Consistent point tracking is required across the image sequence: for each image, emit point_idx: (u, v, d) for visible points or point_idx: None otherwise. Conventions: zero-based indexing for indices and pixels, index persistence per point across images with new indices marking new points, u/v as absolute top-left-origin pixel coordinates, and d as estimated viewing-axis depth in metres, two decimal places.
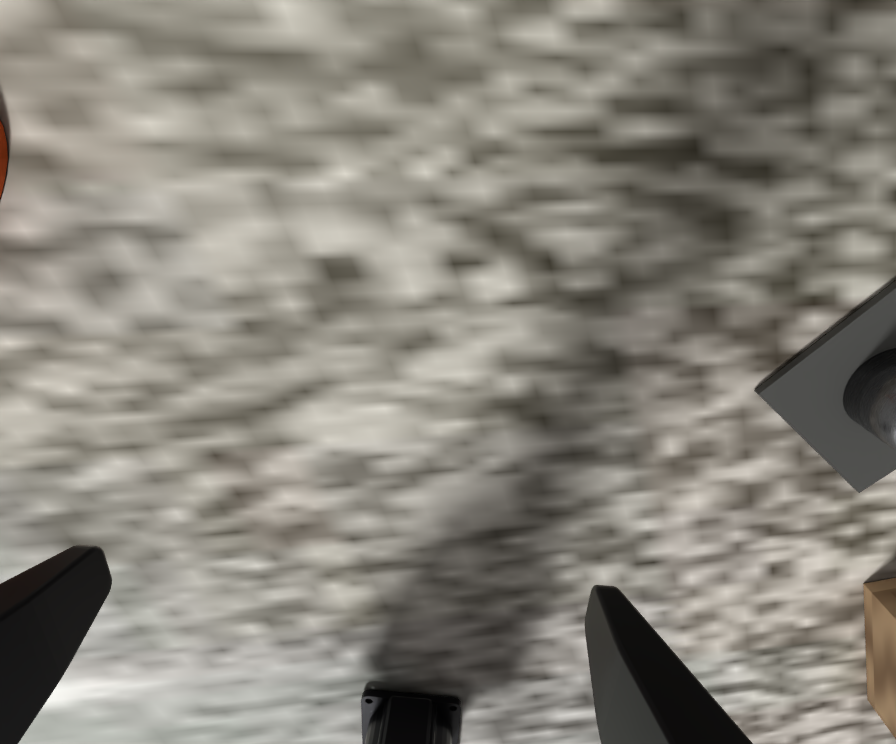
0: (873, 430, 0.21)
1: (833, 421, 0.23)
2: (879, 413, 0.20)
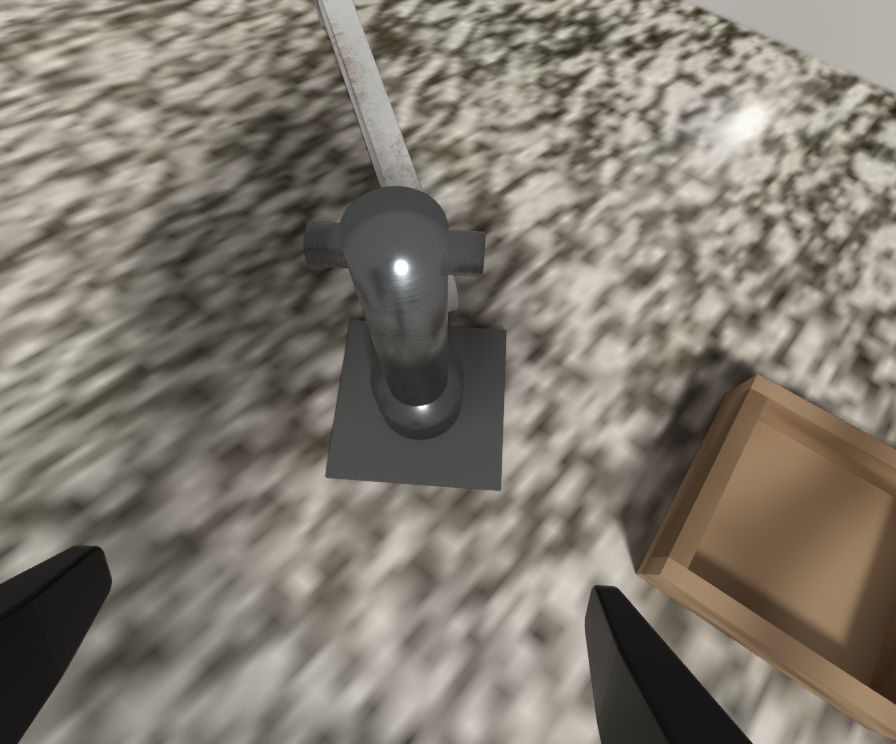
0: (404, 428, 0.22)
1: (408, 452, 0.23)
2: (382, 412, 0.21)
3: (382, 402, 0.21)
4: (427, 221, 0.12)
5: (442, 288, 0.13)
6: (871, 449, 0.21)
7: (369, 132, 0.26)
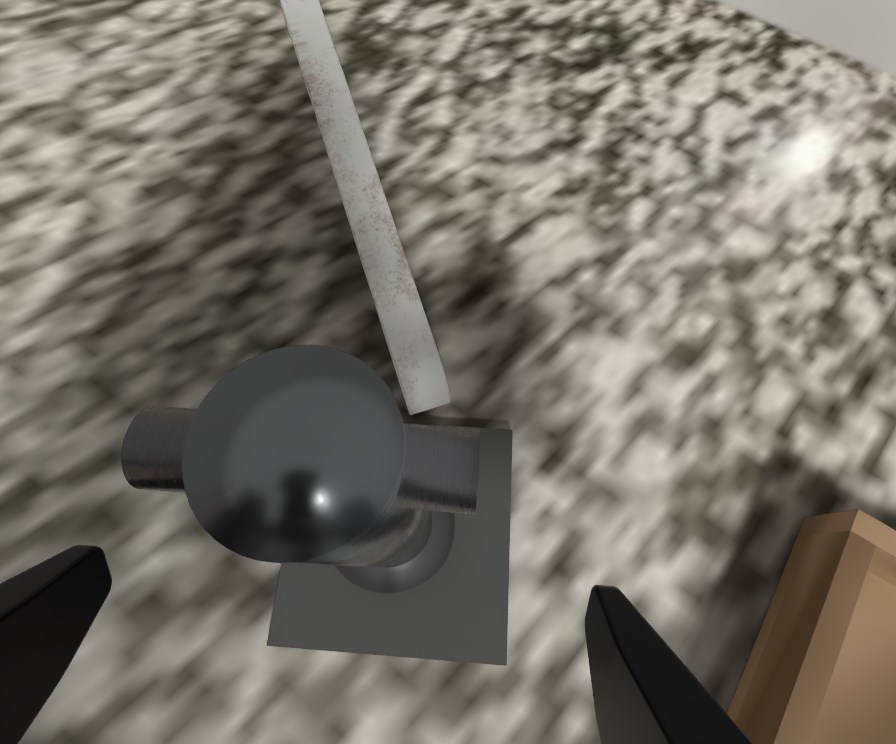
0: None
1: (380, 608, 0.17)
2: None
3: None
4: (363, 424, 0.06)
5: (402, 513, 0.07)
6: None
7: (336, 171, 0.20)
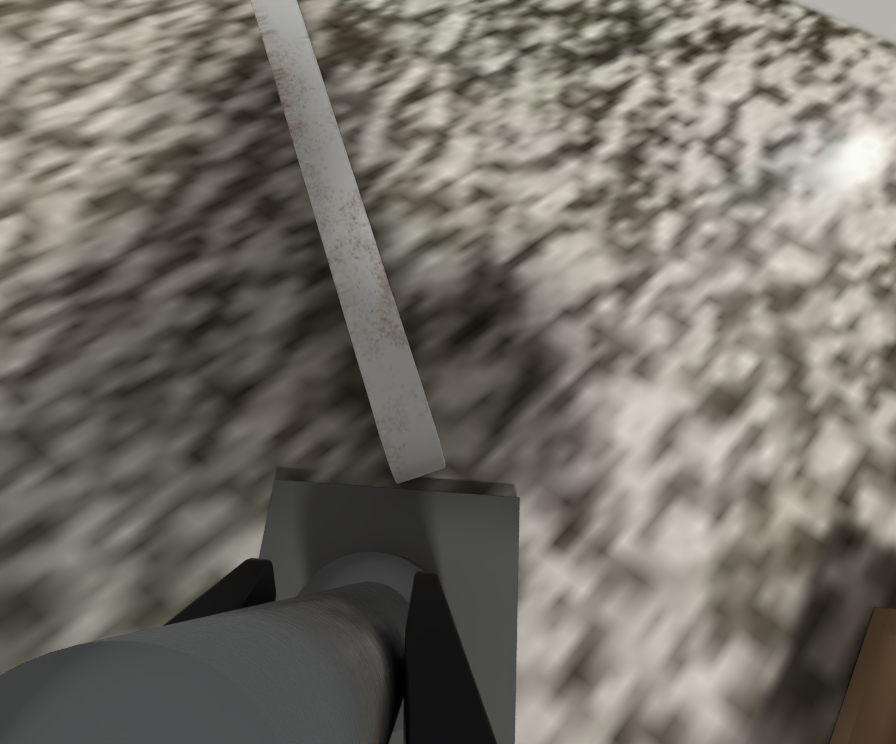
0: None
1: None
2: None
3: None
4: None
5: None
6: None
7: (308, 186, 0.17)
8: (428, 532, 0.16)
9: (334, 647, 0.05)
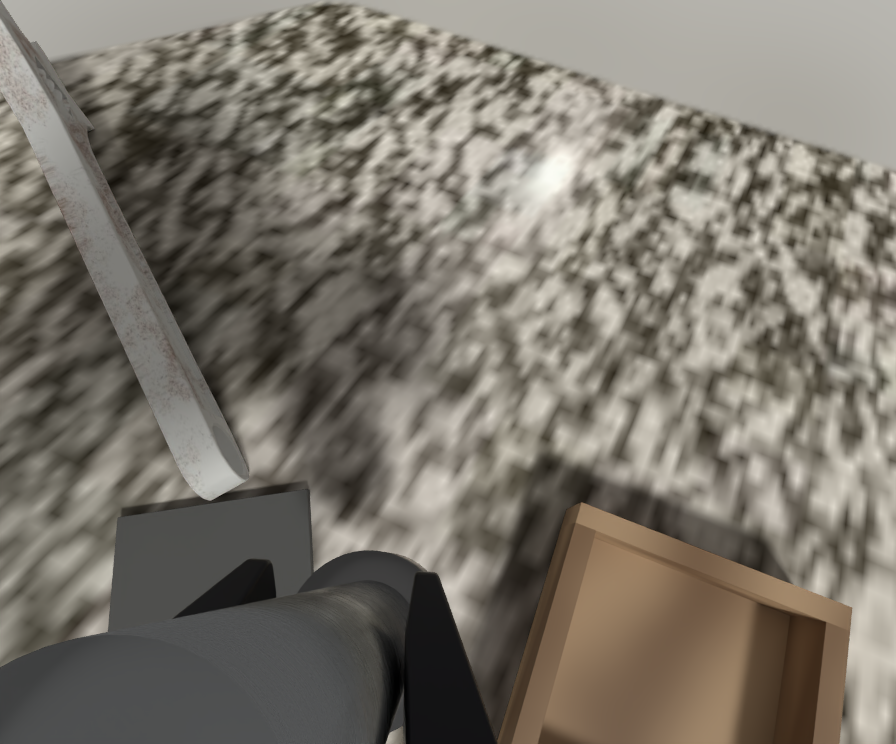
0: None
1: None
2: None
3: None
4: None
5: None
6: (715, 570, 0.18)
7: (99, 290, 0.21)
8: (240, 530, 0.21)
9: (330, 645, 0.05)
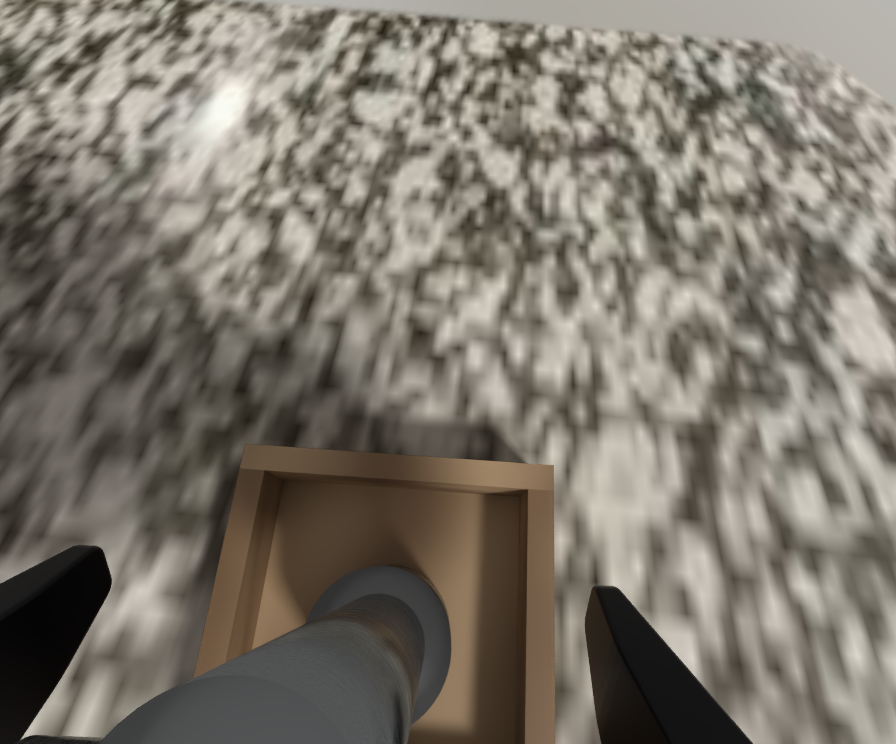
0: None
1: None
2: None
3: None
4: None
5: None
6: (403, 472, 0.16)
7: None
8: None
9: (366, 665, 0.06)
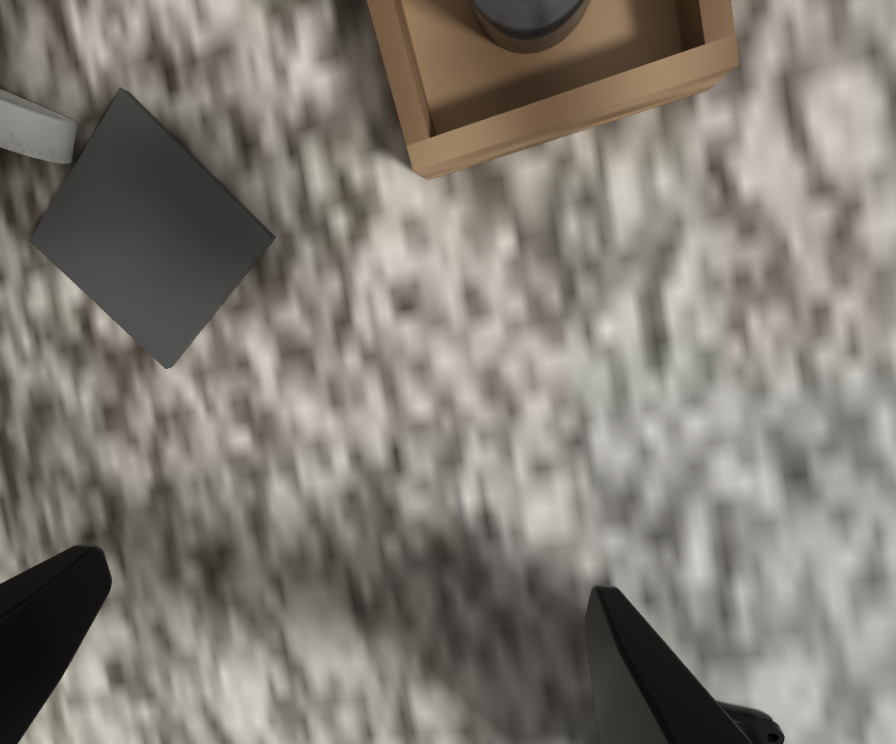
0: (529, 37, 0.15)
1: (186, 289, 0.21)
2: (494, 25, 0.15)
3: (492, 6, 0.14)
4: None
5: None
6: None
7: None
8: (109, 169, 0.20)
9: None
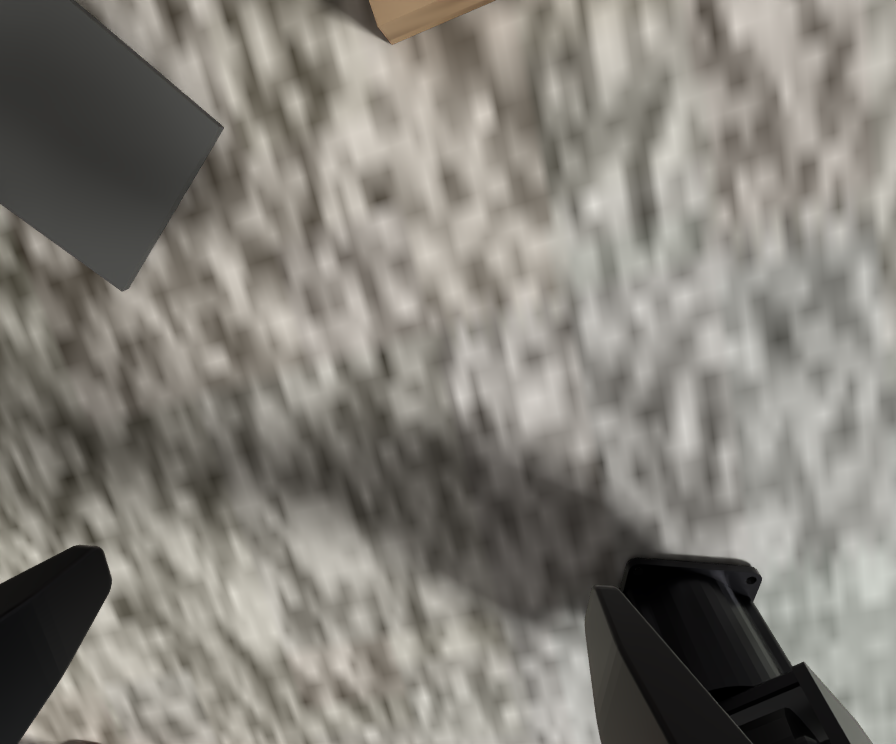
0: None
1: (130, 197, 0.19)
2: None
3: None
4: None
5: None
6: None
7: None
8: (10, 54, 0.17)
9: None
